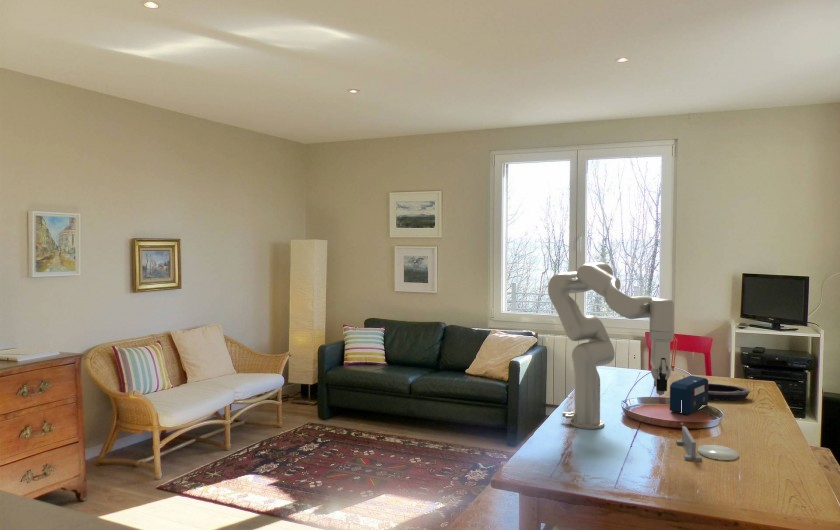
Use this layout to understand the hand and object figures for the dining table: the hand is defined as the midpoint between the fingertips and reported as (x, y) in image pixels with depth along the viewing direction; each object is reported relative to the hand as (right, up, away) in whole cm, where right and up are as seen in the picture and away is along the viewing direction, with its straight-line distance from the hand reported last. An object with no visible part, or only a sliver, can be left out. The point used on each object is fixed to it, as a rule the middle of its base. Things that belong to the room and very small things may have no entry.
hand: (660, 388), depth 200 cm
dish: (+48, -17, +63) cm, 82 cm away
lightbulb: (0, -3, 0) cm, 3 cm away
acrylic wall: (+9, -21, -1) cm, 23 cm away
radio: (+31, -18, +45) cm, 58 cm away
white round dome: (+18, -21, -3) cm, 28 cm away
